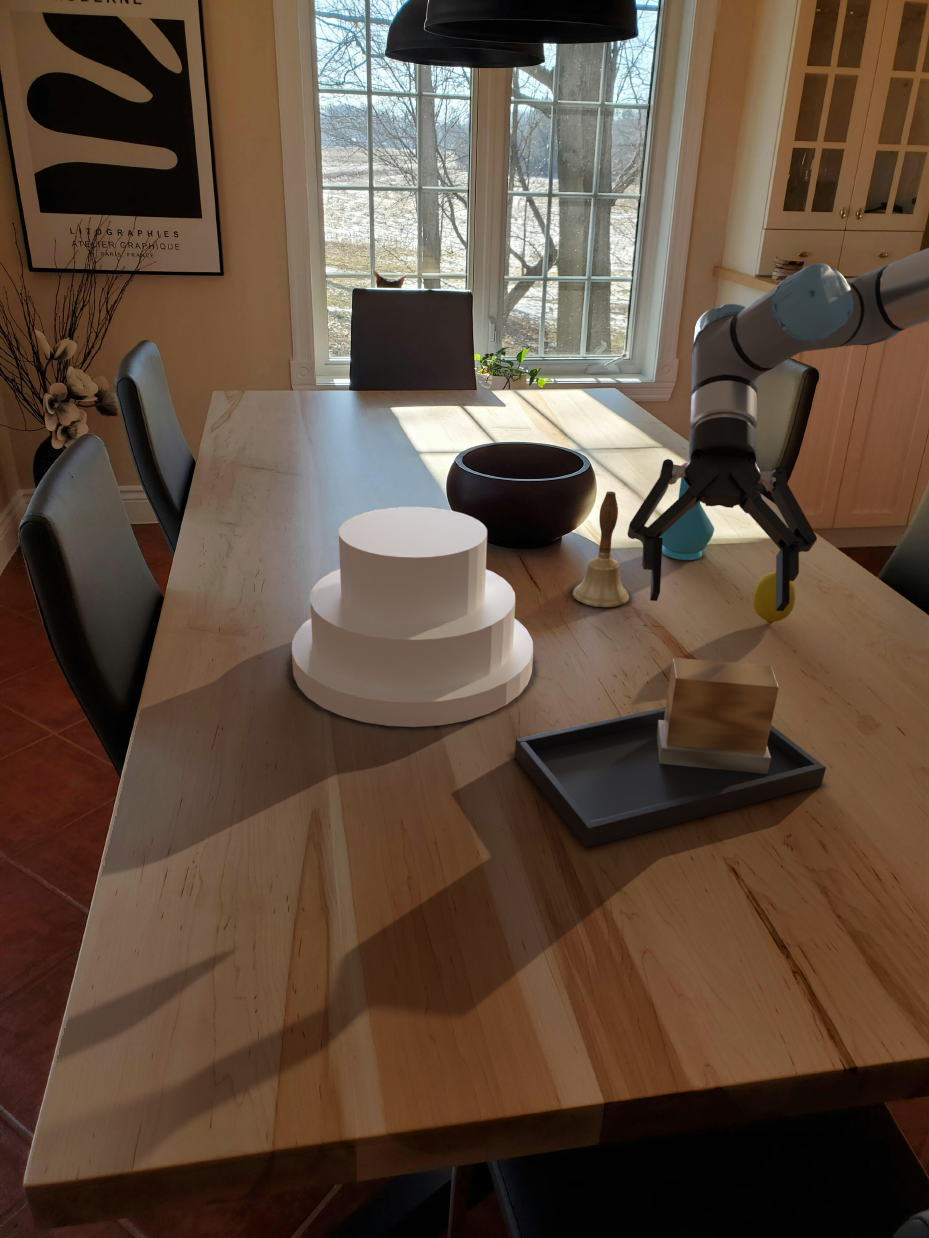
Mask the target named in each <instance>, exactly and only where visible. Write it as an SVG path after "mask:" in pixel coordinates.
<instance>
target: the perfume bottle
mask: <svg viewBox="0 0 929 1238" xmlns="http://www.w3.org/2000/svg"><path fill="white" fill-rule="evenodd" d="M687 465H688V462H684V463H683V464H681V465H680V466H687ZM688 488H689V486H688V484H687V483H686V482H685V480H684V478H680V484H679V491H678V498H677V500H678V499H679V498H680V497H681V496H682V495H683V494H684V493H685V492H686V491H687V489H688ZM714 532H715V527H714V525H713V523H712V521H711V520H710V518H709V516H708V515H707V513H706V511H705V509H704V507H703V506H702V504H701V501H699V502H698V503H697V504H696V505H695V506H694V507H693V508H692V509H689V510H688V511H687V512H686V513H685V514H684V515H683V516H682V517H681V518H680V519H679V520H677V521H676V522H675V523H674V524H673V525H672V526H671V527H670V528H669V529H668V530H667V531H666V532H665V533H664V534H663V535H661V536H660V537H661V538H663V542H662V555H664V556H666V557H669V558H671V559H675V560H680V561H694V560H698V559H700V558H702V556H703V551H704V550H705V549H706V548H707V546H708V544H709V543H710V541H711V540H712V538H713V536H714Z"/></svg>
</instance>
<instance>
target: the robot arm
mask: <svg viewBox="0 0 929 1238" xmlns="http://www.w3.org/2000/svg"><path fill="white" fill-rule="evenodd" d="M928 322H929V247H927V248H924V249H923V250H920V251H917V252H915V253H913V254H910V255H908V256H906V257H905V256H904V257H903V258H901V259H898V260H896V261H893V262H890V263H889V264H887V265H885V266H882V267H878V268H876V269H874V270H872V271H868V272H867V273H865V274H862V275H859V276H855V277H851V278H845V277H844V275H843V274H842V273H840V271H839V270H837V269H836V268H831V267H830V266H829V265H828V264H827V263H824V262H814V263H811V264H809V265H806V266H805V267H803V268H802V269H799V270H798V271H796V272H795V273H792V274H789V275H788V276H786V277H785V278H784V279H782V280H781V281H780V283H779V284H777V285H776V286H775V287H773V288H772V289H770V290H768V292H766V293H765V294H763V295H762V296H761V297H759V298H758V299H756V300H755V301H754V302H752V303H750V304H749V305H748V306H745V305H741V304H738V303H737V304H736V303H726V304H722V305H721V306H720V307H718V308H717V307H712V308H710V309H708V310H706V311H705V312H704V313H702V315H701V316H700V317H699V319H698V320H697V322H696V324H695V328H694V337H693V342H692V346H691V356H692V358H691V359H692V360H691V362H692V366H691V397H690V399H691V400H690V401H691V403H690V420H689V429H690V433H689V437H688V438H689V440H688V462H687V463H688V465H687V466H681V465H680V464H674V461H673V460H672V459H670V458H666V459H664V460H663V461H662V464H661V469H660V472H659V477H658V479H657V480H656V482H655V483H654V485H653V486H652V488H651V490H650V491H649V492H648V494H647V495H646V497H645V499H644V500H643V502H642V504H641V505H640V506H639V508H638V509H637V512H636V513H635V514H634V516H633V517H632V519H631V521H630V522H629V525H628V530H627V532H626V533H627V537H628V538H629V539H631V540H637V541H640V542H641V543H642V556H641V557H642V558H641V559H642V560H641V566H642V570H644V571H651V574H650V576H651V577H650V591H649V592H650V593H649V600H650V601H651V602H657V601H658V599H659V596H660V594H661V583H662V582H661V581H662V559H663V553H662V548H663V545H662V542H663V538H661V537H660V536H661V535H663V534H664V533H665V532H666V531H667V530H668V529H669V528H670V527H671V526H672V525H673V524H674V523H675V522H676V521H677V520H679V519H680V518H681V517H682V516H683V515H684V514H685V513H686V512H687V511H688V510H689V509H692V508H693V507H694V506H695V505H696V504H697V503H698V502H699V501H700V503H702V504H704V505H705V507H717V506H721V507H724V508H731V509H733V508H734V507H736V506H739V508H740V509H741V510H742V511H743V512H744V513H745V514H748V515H749V516H750V517H751V518H752V519H753V521H755V522H756V524H757V525H758V526H759V528H761V529H762V531H763V532H764V533H765V534H766V535H767V536H768V537H769V538H770V540H771V541H772V542H773V543H774V544H775V545H776V546H777V547H778V549H779V551H778V552H777V554H776V556H775V557H776V558H775V572H776V611H784V609H785V608H786V607H787V605H788V604H789V603H790V581H793V582H794V581H795V580H796V578H797V577H798V575H799V573H800V553H802V552H803V553H808V552H809V551H810V550H811V549H812V547H813V546H814V545H815V543H816V542H817V541H818V536H817V535H816V533H815V531H814V529H813V528H812V526H811V524H810V522H809V520H808V518H807V517H806V515H805V514H804V511H803V510H802V508H801V506H800V504H799V502H798V501H797V499H796V497H795V495H794V493H793V491H792V489H791V488H790V486H789V483H788V478H787V470H786V468H785V467H783V466H780V465H779V466H777V467H775V468H774V470H762V471H761V470H760V469H759V467H758V464H757V447H758V446H757V445H758V443H757V442H758V441H757V440H758V433H757V427H758V426H757V425H758V382H759V378H760V376H762V375H764V374H765V373H767V372H768V371H769V372H770V371H772V370H773V369H775V368H776V367H778V366H779V365H781V364H782V363H784V362H785V361H787V360H789V359H791V358H793V357H795V356H796V355H799V354H800V353H804V352H812V351H820V350H827V349H836V348H841V347H851V346H870V345H874V344H878V343H883V342H884V341H888V340H890V339H892V338H894V337H895V336H897V335H898V334H899V333H900V332H902V331H904V330H907V329H908V330H909V329H910V328H913V327H916V326H919V325H922V324H925V323H928ZM681 478H684V480H685V482H686V483H687V484H688V486H689V488H688V489H687V491H686V492H685V493H684V494H683V495H682V496H681V497H680V498H679V497H678V498H679V499H678V498H677V500H676V501H674V502H673V503H672V504H671V505H670V506H669V507H668V508H667V509H666V510H665V511H664V512H662V513H661V515H659V517H657V518H656V519H655V520H654V521H653V522H652V523H651V524H650V525H649V526H646V524H647V523H648V521H649V519H650V518H651V516H652V515H653V513H654V512H655V510H656V508H657V507H658V506H659V504H660V502H661V501H662V499H663V498H664V496H665V494H666V492H667V491H668V488H669V485H671V486H672V485H674V484H676V483H677V482H678V480H679V479H681ZM758 484H762V485H763V486H764V488H765V491H767V492H770V493H771V498H772V500H773V502H774V503H775V505H776V507H777V509H778V511H779V513H780V514H781V515H780V516H782V518H783V520H784V521H783V520H782V519H781V517H779V515H778V514H777V513H776V512H775V511H774V510H773V508H771V506H770V505H768V503H767V502H766V501H765V500H764V499H763V497H762V494H761V492H760V491H759V490H758V489H757V488H756V487H757V486H758Z"/></svg>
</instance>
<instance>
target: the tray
mask: <svg viewBox="0 0 929 1238" xmlns="http://www.w3.org/2000/svg"><path fill="white" fill-rule="evenodd" d="M665 709H666V706H665V707H659V708H654V709H649V710H646V711H640V712H635V713H631V714H626V715H622V716H617V717H612V718H606V719H602V720H598V721H594V722H588V723H584V724H579V725H575V726H574V725H573V726H569V727H564V728H560V729H555V730H550V731H546V732H540V733H536V734H532V735H528V736H523V737H518V738H515V744H514V758H515V759H516V760H517V762H518V764H520V765H521V767H522V768H523V769H524V771H525V772H526V773H527V774H528V776H529V777H530V778H531V780H532V781H533V782H534V784H535V785H536V786H537V787H538V789H539V790H540V791H541V792H542V793H543V795H544V796H545V797H546V799H547V800H548V801H549V802H550V804H551V805H552V806H553V807H554V809H555V810H556V811H557V813H558V814H559V815H560V816H561V818H562V819H563V820H564V821H565V823H566V824H567V825H568V826H569V828H570V829H571V830H572V832H573V833H574V834H575V835H576V837H577V838H578V839H579V840H580V842H581V843H582V844H583V846H585V848H586V849H588V848H592V847H595V846H599V845H603V844H606V843H610V842H615V841H618V840H623V839H626V838H629V837H633V836H637V835H641V834H644V833H648V832H652V831H655V830H659V829H663V828H667V827H670V826H674V825H678V824H681V823H686V822H689V821H693V820H696V819H700V818H704V817H708V816H711V815H716V814H719V813H723V812H726V811H731V810H734V809H737V808H742V807H746V806H750V805H753V804H757V803H760V802H764V801H767V800H773V799H775V798H779V797H783V796H786V795H790V794H793V793H794V794H795V793H798V792H801V791H805V790H809V789H812V788H813V789H814V788H816V787H820V786H822V785H823V781H824V778H825V773H826V769H827V766H825V764H823V763H822V762H821V761H819V760H818V759H816V758H815V757H814V756H813V755H811V754H810V753H809V752H807V751H806V750H805V749H803V748H802V747H801V746H800V745H799V744H797V743H796V742H795V741H793V740H792V739H791V738H789V737H788V736H787V735H785V734H784V733H783V732H781V731H780V730H779V729H777V728H776V727H775V726H774V725H773V724H771V728H770V733H769V737H768V742H767V747H768V751H769V754H770V757H771V760H770V764H769V769H768V774H762V773H751V772H741V771H731V770H721V769H710V768H700V767H690V766H680V765H669V764H660V763H659V756H658V746H657V737H656V734H657V727H658V720H664V715H665Z"/></svg>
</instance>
